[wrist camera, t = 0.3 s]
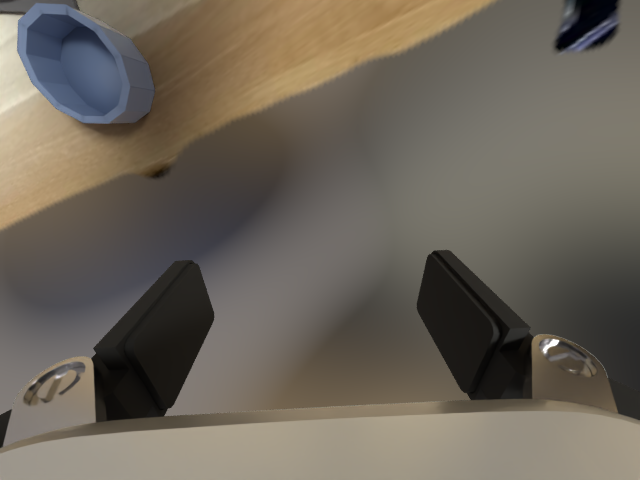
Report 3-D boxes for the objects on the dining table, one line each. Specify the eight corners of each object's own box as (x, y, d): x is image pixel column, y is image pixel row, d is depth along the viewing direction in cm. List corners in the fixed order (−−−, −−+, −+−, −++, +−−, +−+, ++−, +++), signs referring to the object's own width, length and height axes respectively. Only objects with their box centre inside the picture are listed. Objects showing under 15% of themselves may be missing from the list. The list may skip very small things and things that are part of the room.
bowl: (44, 19, 28) (-6, 1, 24) (138, 23, 29) (106, 6, 24) (84, 121, 33) (49, 122, 29) (163, 123, 34) (141, 124, 29)
